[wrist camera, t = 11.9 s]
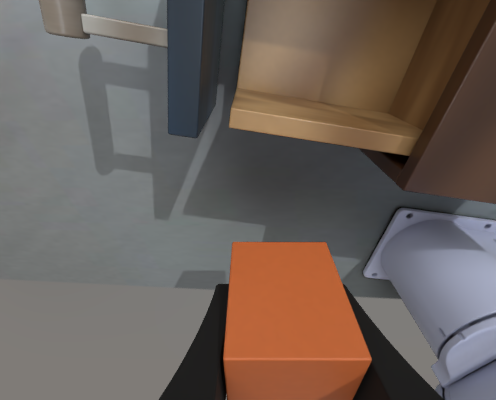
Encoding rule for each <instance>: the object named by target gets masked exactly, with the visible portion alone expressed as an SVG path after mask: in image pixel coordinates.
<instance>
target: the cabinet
mask: <svg viewBox="0 0 496 400" xmlns="http://www.w3.org/2000/svg"><path fill="white" fill-rule="evenodd" d="M359 149H360V150H361V151H362V152H363V153H364V154H365V155H366V156H367V157H368V158H369V159H370V160H371V161H373V162H374V163H375V164H376V165H377V166H378V167H379V168H380V169H381V170H382V171H383V172H384V173H385V174H386V175H387V176H389V177H390V178H391V179H392V180H393V181H394V182H395V183H396V184H397V185H398V186H399V187H400V188H401V189H402V190H403V191H410V192H417V193H424V194H431V195H437V196H444V197H451V198H458V199H465V200H472V201H479V202H486V203H493V204H496V0H490V2H489V4H488V6H487V7H486V9H485V11H484V13H483V15H482V17H481V19H480V21H479V23H478V25H477V27H476V29H475V31H474V33H473V34H472V36H471V38H470V40H469V42H468V44H467V46H466V48H465V50H464V52H463V54H462V56H461V58H460V60H459V61H458V63H457V65H456V67H455V69H454V71H453V73H452V75H451V77H450V79H449V81H448V83H447V85H446V87H445V89H444V90H443V92H442V94H441V96H440V98H439V100H438V102H437V104H436V106H435V108H434V110H433V112H432V114H431V116H430V117H429V119H428V121H427V123H426V125H425V127H424V129H423V131H422V133H421V135H420V137H419V139H418V141H417V143H416V144H415V146H414V148H413V150H412V152H411V154H410V156H406V155H399V154H393V153H387V152H380V151H374V150H368V149H361V148H359Z"/></svg>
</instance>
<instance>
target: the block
mask: <svg viewBox="0 0 496 400" xmlns="http://www.w3.org/2000/svg"><path fill="white" fill-rule="evenodd" d="M371 361H372V358H371V355H370V353H369V350H368V348H367V345H366V343H365V340H364V338H363V335H362V333H361V330H360V328H359V325H358V322H357V320H356V317H355V315H354V312H353V310H352V307H351V305H350V302H349V300H348V297H347V295H346V292H345V289H344V287H343V284H342V282H341V279H340V277H339V274H338V272H337V269H336V267H335V264H334V262H333V259H332V256H331V254H330V251H329V249H328V246H327V244H326V242H233V243H232V254H231V266H230V279H229V291H228V304H227V316H226V329H225V341H224V354H223V362H224V373H225V384H226V394H227V400H353V398H354V396H355V394H356V392H357V390H358V388H359V386H360V384H361V381H362V379H363V377H364V375H365V373H366V371H367V369H368V367H369V365H370V363H371Z"/></svg>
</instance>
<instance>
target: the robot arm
mask: <svg viewBox="0 0 496 400" xmlns="http://www.w3.org/2000/svg"><path fill="white" fill-rule="evenodd" d="M409 213H410V214H409ZM408 214H409V215H408ZM407 215H408V216H407ZM363 274H364V276H365V277H367V278H376V279H385V280H390V281H391V282H392V284H393V286H394V287H395V289H396V291H397V292H398V294H399V295H400V297H401V299H402V300H403V302H404V304H405V305H406V307H407V309H408V310H409V312H410V314H411V315H412V317H413V319H414V320H415V322H416V323H417V325H418V327H419V329H420V330H421V332H422V334H423V335H424V337H425V339H426V340H427V342H428V343H429V345H430V347H431V348H432V350H433V352H434V353H435V355H436V357H437V358H438V361H437V362H436V363H435V364H433V365H432V366H431V368H432V370H433V372H434V373H435V375H436V377H437V379H438V380H439V382H440V384H439V385H438V386H437V387H436V389H435V390H434V389H433V388H432V387H431V386H430V385H429V384H428V383H427V382H426V381H425V380H424V379H423V378H422V377H421V376H420V375H419V374H418V373H417V372H416V371H415V370H414V369H413V368H412V367H411V366H410V364H408V362H407V361H406V360H405V359H404V358H403V357H402V356H401V355H400V354H399V352H398V351H397V350H396V349H395V348H394V347H393V346H392V345H391V344H390V342H389V341H388V340H387V339H386V337H385V336H384V335H383V334H382V333H381V331H380V330H379V329H378V328H377V326H376V325H375V324H374V323H373V322H372V320H371V319H370V318H369V317H368V315H367V314H366V313H365V311H364V310H363V309H362V307H361V306H360V305H359V303H358V302H357V301H356V299H355V298H354V297H353V295H352V294H351V293H350V291H349V290H348V289H347V287H346V286H345V285H344V284H343V287H344V289H345V292H346V295H347V297H348V300H349V302H350V305H351V307H352V310H353V312H354V315H355V317H356V320H357V322H358V325H359V328H360V330H361V333H362V335H363V338H364V340H365V343H366V345H367V348H368V350H369V353H370V355H371V358H372V361H371V363H370V365H369V367H368V369H367V371H366V373H365V375H364V377H363V379H362V381H361V384H360V386H359V388H358V390H357V392H356V394H355V396H354V398H353V400H496V220H489V219H481V218H474V217H467V216H460V215H453V214H446V213H438V212H431V211H424V210H417V209H410V208H400V209H398V210H397V211H396V213H395V215H394V217H393V218H392V220H391V222H390V224H389V226H388V227H387V229H386V231H385V233H384V234H383V236H382V238H381V240H380V242H379V243H378V245H377V247H376V249H375V251H374V252H373V254H372V256H371V258H370V260H369V261H368V263H367V265H366V267H365V269H364V270H363ZM228 291H229V284H218V285H217V286H216V289H215V292H214V295H213V298H212V301H211V303H210V306H209V308H208V311H207V314H206V316H205V318H204V320H203V322H202V324H201V326H200V329H199V331H198V333H197V335H196V337H195V339H194V341H193V343H192V344H191V346H190V348H189V350H188V352H187V354H186V356H185V358H184V359H183V361H182V363H181V365H180V366H179V368H178V370H177V372H176V373H175V375H174V376H173V378H172V380H171V382H170V383H169V385H168V386H167V388H166V389H165V391H164V392H163V394H162V395H161V397H160V398H159V400H225V399H226V384H225V373H224V362H223V354H224V341H225V329H226V316H227V304H228Z"/></svg>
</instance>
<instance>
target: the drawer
mask: <svg viewBox="0 0 496 400" xmlns="http://www.w3.org/2000/svg"><path fill="white" fill-rule="evenodd" d="M224 1H225V0H167V29H165V28H159V27H154V26H148V25H143V24H137V23H132V22H127V21H121V20H116V19H110V18H105V17H99V16H94V15H89V14H87V11H86V4H85V0H39V4H40V8H41V13H42V18H43V22H44V27H45V30H46V32H47V33H49V34H53V35H58V36H65V37H71V38H80V39H89V38H90V34H92V35H98V36H104V37H109V38H115V39H120V40H126V41H132V42H137V43H143V44H148V45H154V46H160V47H165V48H168V133H169V134H171V135H178V136H185V137H191V138H197V137H198V136H199V134H200V132H201V130H202V128H203V127H204V125H205V123H206V121H207V119H208V118H209V116H210V114H211V112H212V110H213V108H214V107H215V105H216V94H217V82H218V70H219V59H220V47H221V35H222V24H223V12H224ZM489 2H490V0H247V7H246V15H245V23H244V31H243V40H242V48H241V56H240V64H239V72H238V80H237V88H236V92H235V96H234V99H233V103H232V106H231V111H230V120H229V128H234V129H240V130H246V131H253V132H259V133H266V134H272V135H278V136H285V137H291V138H297V139H304V140H310V141H317V142H323V143H329V144H336V145H342V146H348V147H355V148H361V149H368V150H374V151H380V152H387V153H393V154H399V155H406V156H410V154H411V152H412V150H413V148H414V146H415V144H416V143H417V141H418V139H419V137H420V135H421V133H422V131H423V129H424V127H425V125H426V123H427V121H428V119H429V117H430V116H431V114H432V112H433V110H434V108H435V106H436V104H437V102H438V100H439V98H440V96H441V94H442V92H443V90H444V89H445V87H446V85H447V83H448V81H449V79H450V77H451V75H452V73H453V71H454V69H455V67H456V65H457V63H458V61H459V60H460V58H461V56H462V54H463V52H464V50H465V48H466V46H467V44H468V42H469V40H470V38H471V36H472V34H473V33H474V31H475V29H476V27H477V25H478V23H479V21H480V19H481V17H482V15H483V13H484V11H485V9H486V7H487V6H488V4H489Z"/></svg>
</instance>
